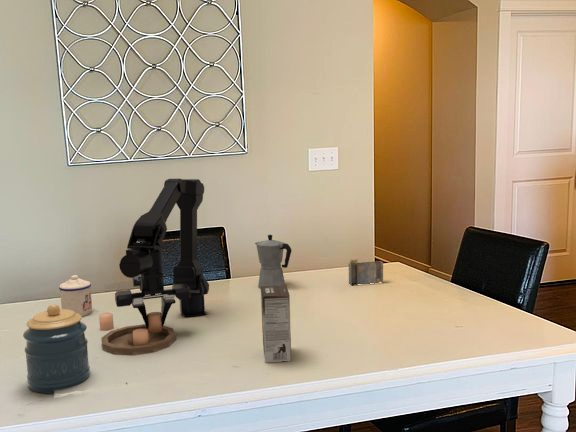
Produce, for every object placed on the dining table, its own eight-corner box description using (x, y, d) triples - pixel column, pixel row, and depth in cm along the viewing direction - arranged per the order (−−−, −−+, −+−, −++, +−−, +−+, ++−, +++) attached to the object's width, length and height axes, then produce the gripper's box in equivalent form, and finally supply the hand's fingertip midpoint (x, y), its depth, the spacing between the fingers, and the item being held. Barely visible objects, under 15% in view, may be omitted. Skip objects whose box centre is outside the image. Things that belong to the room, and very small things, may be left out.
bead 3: (163, 331, 163) (162, 315, 163) (148, 333, 162) (147, 316, 161) (161, 327, 167) (160, 311, 166) (147, 329, 165) (146, 312, 165)
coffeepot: (248, 287, 214) (245, 235, 211) (266, 281, 221) (264, 230, 219) (283, 293, 205) (281, 239, 202) (300, 287, 212) (299, 234, 209)
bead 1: (113, 328, 175) (112, 312, 174) (114, 332, 171) (113, 316, 171) (99, 329, 174) (98, 314, 173) (100, 333, 170) (99, 317, 170)
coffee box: (262, 349, 155) (260, 285, 153) (288, 347, 156) (286, 284, 153) (264, 363, 146) (261, 295, 144) (292, 361, 147) (290, 294, 144)
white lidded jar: (89, 317, 185) (86, 278, 184) (57, 319, 184) (54, 280, 183) (97, 305, 197) (95, 269, 195) (67, 307, 196) (65, 270, 194)
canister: (90, 389, 134) (83, 309, 132) (24, 398, 131) (17, 316, 128) (90, 367, 147) (85, 293, 144) (31, 375, 143) (24, 299, 140)
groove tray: (169, 329, 172) (168, 320, 172) (180, 351, 155) (180, 341, 155) (100, 338, 166) (99, 329, 166) (104, 362, 149) (103, 351, 149)
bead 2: (147, 345, 158) (146, 327, 157) (149, 349, 155) (148, 332, 154) (133, 347, 157) (132, 329, 156) (134, 351, 153) (133, 334, 153)
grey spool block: (351, 287, 212) (350, 259, 210) (348, 285, 215) (348, 257, 213) (383, 285, 214) (383, 257, 212) (380, 283, 217) (380, 255, 215)
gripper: (182, 258, 172) (185, 313, 175) (111, 265, 166) (115, 322, 169) (189, 267, 162) (192, 325, 164) (114, 274, 156) (119, 335, 158)
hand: (154, 326), depth 164 cm, fingers closed on bead 3, 3 cm apart
